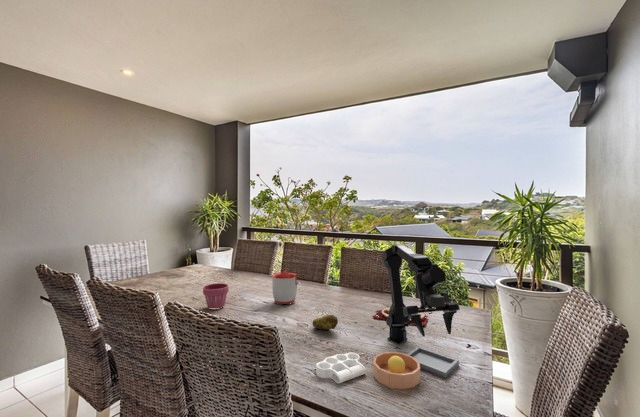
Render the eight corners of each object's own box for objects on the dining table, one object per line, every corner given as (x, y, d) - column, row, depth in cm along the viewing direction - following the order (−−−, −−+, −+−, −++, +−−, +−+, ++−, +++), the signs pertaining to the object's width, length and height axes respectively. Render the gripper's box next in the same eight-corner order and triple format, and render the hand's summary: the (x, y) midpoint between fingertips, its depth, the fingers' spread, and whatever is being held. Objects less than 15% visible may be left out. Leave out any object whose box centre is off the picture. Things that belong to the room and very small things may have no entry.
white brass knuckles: (331, 389, 100) (309, 369, 112) (373, 373, 109) (348, 356, 122) (331, 379, 100) (309, 360, 112) (373, 364, 109) (348, 348, 122)
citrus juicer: (299, 306, 182) (299, 273, 182) (269, 306, 182) (269, 273, 182) (301, 298, 197) (301, 267, 197) (274, 298, 198) (274, 267, 198)
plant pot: (212, 313, 171) (212, 290, 171) (198, 308, 179) (198, 286, 179) (233, 306, 182) (233, 285, 182) (219, 302, 190) (219, 281, 190)
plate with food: (424, 329, 149) (424, 322, 149) (372, 318, 162) (372, 312, 162) (432, 314, 171) (432, 308, 171) (385, 306, 184) (385, 300, 184)
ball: (384, 373, 107) (384, 356, 107) (393, 367, 111) (393, 350, 111) (399, 380, 103) (399, 362, 103) (408, 373, 107) (408, 356, 107)
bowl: (364, 375, 107) (364, 362, 107) (389, 359, 118) (389, 348, 118) (405, 394, 96) (405, 380, 96) (427, 375, 107) (427, 362, 107)
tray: (403, 362, 116) (403, 356, 116) (418, 351, 125) (418, 346, 125) (445, 378, 105) (445, 372, 105) (458, 365, 114) (458, 360, 114)
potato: (324, 324, 154) (324, 308, 154) (340, 332, 144) (340, 315, 144) (310, 328, 149) (310, 311, 149) (326, 337, 139) (326, 319, 139)
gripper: (407, 286, 104) (418, 336, 97) (460, 282, 106) (474, 330, 99) (398, 293, 114) (407, 338, 107) (446, 289, 116) (458, 333, 109)
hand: (436, 335), depth 105 cm, fingers open, 9 cm apart
